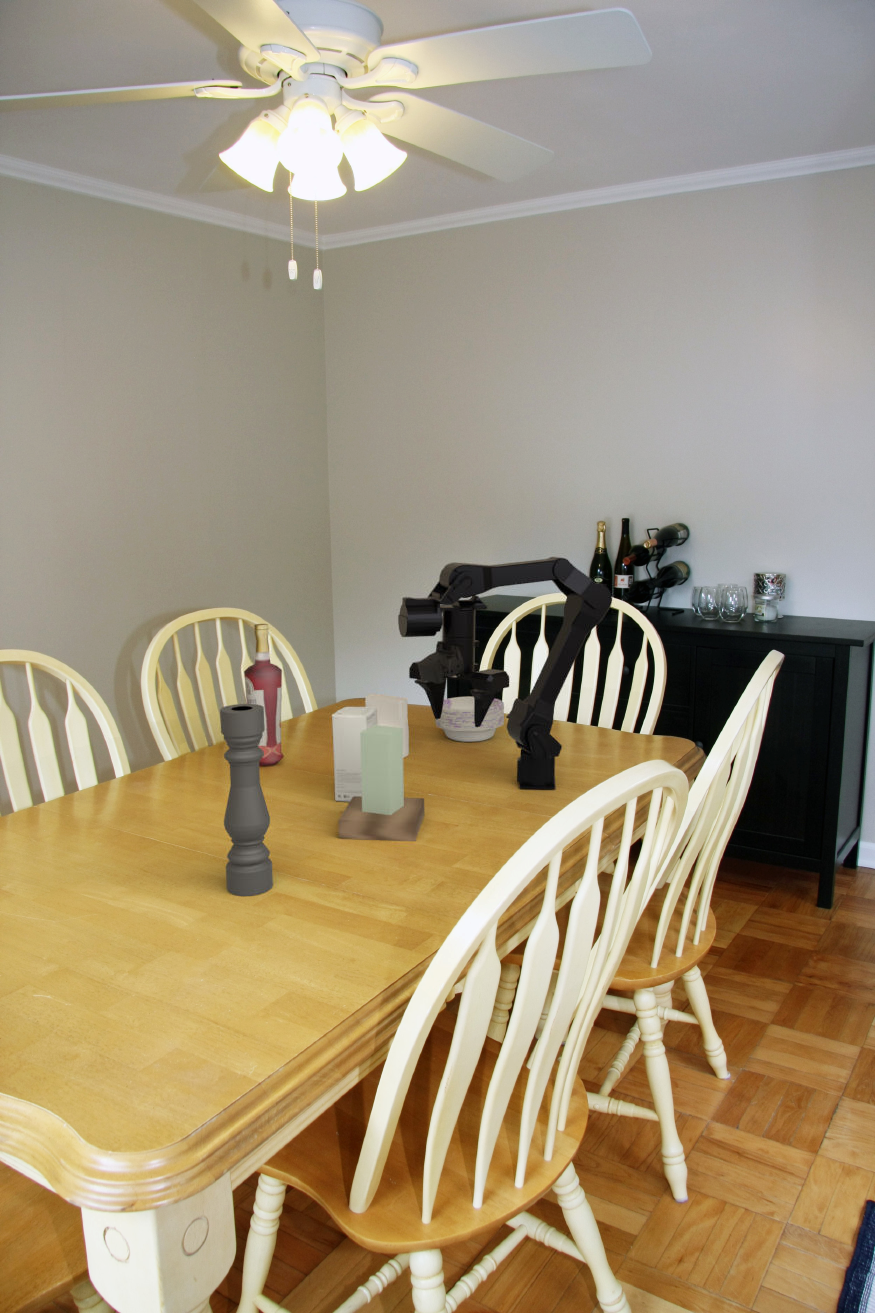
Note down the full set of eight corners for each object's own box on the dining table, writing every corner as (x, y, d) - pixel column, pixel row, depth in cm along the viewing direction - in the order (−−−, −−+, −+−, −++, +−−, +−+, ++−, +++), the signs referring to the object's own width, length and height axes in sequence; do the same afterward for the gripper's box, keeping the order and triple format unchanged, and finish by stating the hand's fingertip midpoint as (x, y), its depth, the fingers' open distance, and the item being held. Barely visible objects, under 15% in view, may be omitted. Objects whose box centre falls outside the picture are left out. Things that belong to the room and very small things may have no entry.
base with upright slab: (417, 751, 198) (416, 695, 196) (392, 762, 191) (391, 703, 189) (382, 746, 203) (381, 691, 201) (356, 755, 196) (355, 698, 194)
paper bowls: (431, 730, 217) (431, 696, 215) (497, 728, 218) (497, 694, 217) (438, 747, 202) (438, 711, 201) (509, 745, 203) (509, 708, 202)
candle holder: (251, 899, 126) (242, 715, 122) (217, 890, 129) (207, 710, 125) (282, 883, 131) (275, 706, 127) (248, 874, 134) (241, 701, 130)
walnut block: (424, 815, 159) (424, 798, 158) (415, 841, 147) (415, 822, 147) (353, 813, 160) (353, 796, 160) (338, 838, 148) (338, 820, 148)
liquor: (291, 764, 190) (286, 625, 185) (257, 770, 186) (251, 628, 181) (275, 756, 196) (270, 621, 191) (242, 762, 192) (236, 624, 187)
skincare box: (368, 804, 165) (366, 716, 162) (331, 801, 166) (329, 714, 164) (380, 789, 173) (379, 705, 171) (346, 787, 174) (343, 704, 172)
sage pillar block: (403, 805, 154) (402, 727, 152) (390, 815, 150) (389, 735, 148) (376, 802, 156) (374, 725, 154) (362, 811, 152) (360, 732, 150)
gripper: (387, 634, 166) (387, 722, 168) (471, 645, 154) (469, 739, 156) (430, 629, 174) (429, 712, 177) (512, 638, 162) (510, 728, 165)
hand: (457, 722), depth 168 cm, fingers open, 9 cm apart
